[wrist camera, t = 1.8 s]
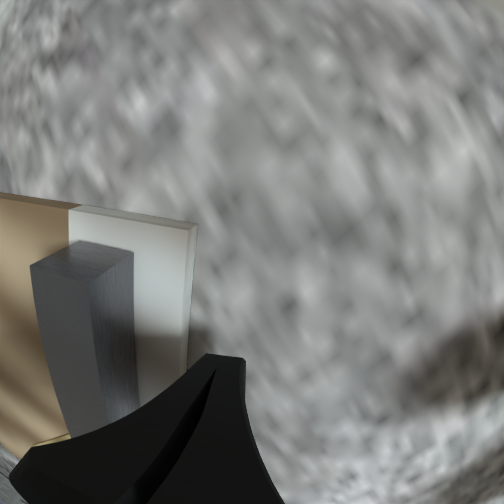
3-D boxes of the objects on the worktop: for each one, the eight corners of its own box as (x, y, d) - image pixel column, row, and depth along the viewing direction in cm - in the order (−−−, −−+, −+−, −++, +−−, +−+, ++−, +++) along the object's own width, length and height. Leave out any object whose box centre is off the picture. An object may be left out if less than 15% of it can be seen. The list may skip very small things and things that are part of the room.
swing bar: (155, 473, 15) (133, 522, 11) (107, 455, 15) (80, 499, 11) (144, 254, 10) (78, 303, 7) (71, 238, 11) (0, 273, 7)
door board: (185, 525, 19) (174, 556, 16) (8, 442, 21) (-9, 462, 18) (197, 224, 11) (155, 255, 8) (-65, 183, 13) (-103, 194, 10)
